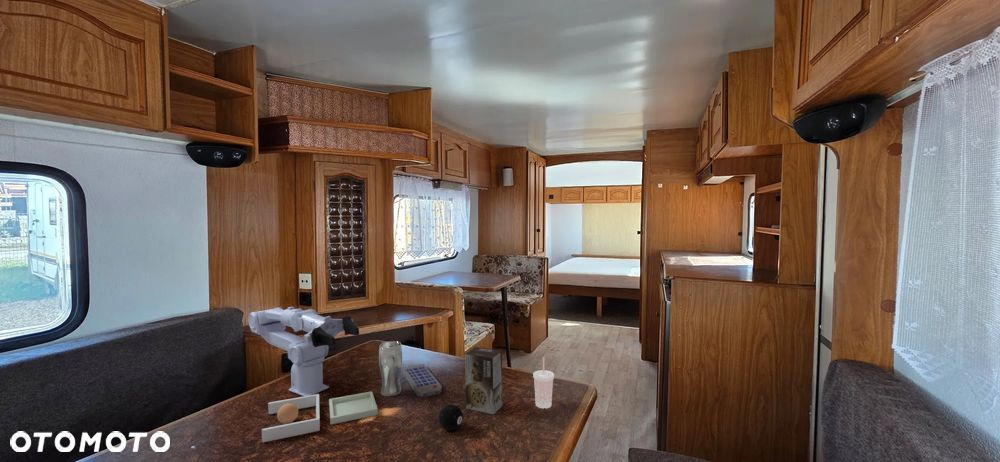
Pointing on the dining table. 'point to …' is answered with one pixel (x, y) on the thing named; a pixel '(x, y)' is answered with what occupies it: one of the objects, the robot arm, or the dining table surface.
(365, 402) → the tray
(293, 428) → the white bent bar
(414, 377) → the remote control
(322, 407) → the dining table surface
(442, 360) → the dining table surface
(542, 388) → the beverage cup
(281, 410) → the ball
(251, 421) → the dining table surface
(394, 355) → the beer glass
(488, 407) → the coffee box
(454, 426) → the billiard ball
